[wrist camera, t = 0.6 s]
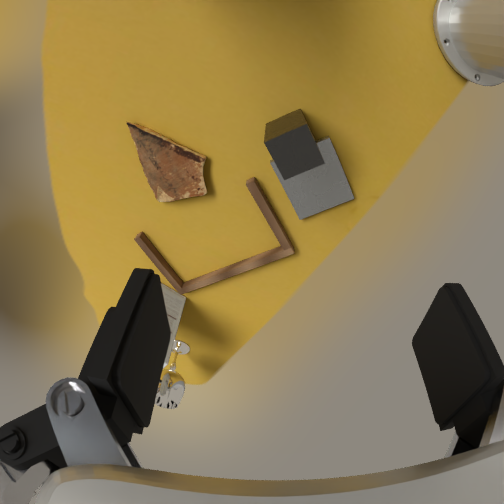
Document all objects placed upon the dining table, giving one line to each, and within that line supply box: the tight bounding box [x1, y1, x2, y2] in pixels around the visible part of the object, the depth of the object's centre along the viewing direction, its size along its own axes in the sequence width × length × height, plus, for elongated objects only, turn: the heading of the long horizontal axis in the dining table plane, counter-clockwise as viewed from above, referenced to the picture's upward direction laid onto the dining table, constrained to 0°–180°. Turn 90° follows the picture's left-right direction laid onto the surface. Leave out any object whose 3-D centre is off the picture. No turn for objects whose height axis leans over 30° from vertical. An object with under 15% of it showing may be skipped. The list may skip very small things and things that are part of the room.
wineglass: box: [154, 340, 190, 409], centre depth 51 cm, size 6×6×12 cm
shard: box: [127, 122, 207, 202], centre depth 34 cm, size 11×8×2 cm
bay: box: [134, 177, 294, 295], centre depth 41 cm, size 18×11×1 cm, turn 118°
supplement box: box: [161, 283, 186, 368], centre depth 43 cm, size 7×7×13 cm
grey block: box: [264, 109, 354, 220], centre depth 31 cm, size 12×7×7 cm, turn 28°
